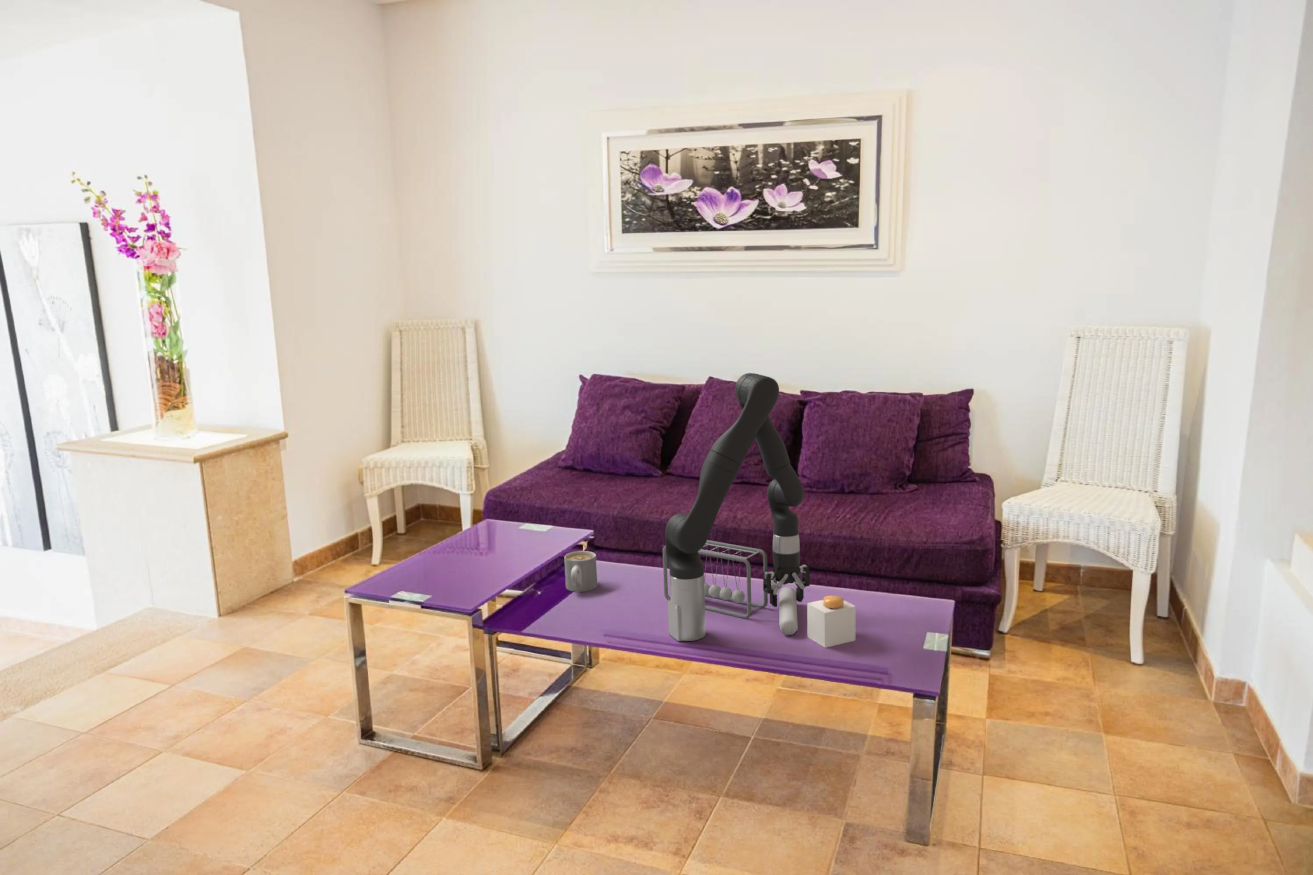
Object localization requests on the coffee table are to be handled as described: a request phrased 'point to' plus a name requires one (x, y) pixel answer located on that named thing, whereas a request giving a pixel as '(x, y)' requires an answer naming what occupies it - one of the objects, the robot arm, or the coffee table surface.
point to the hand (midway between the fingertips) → (786, 603)
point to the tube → (788, 610)
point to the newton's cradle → (727, 592)
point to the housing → (831, 623)
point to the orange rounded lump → (833, 602)
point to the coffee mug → (580, 571)
